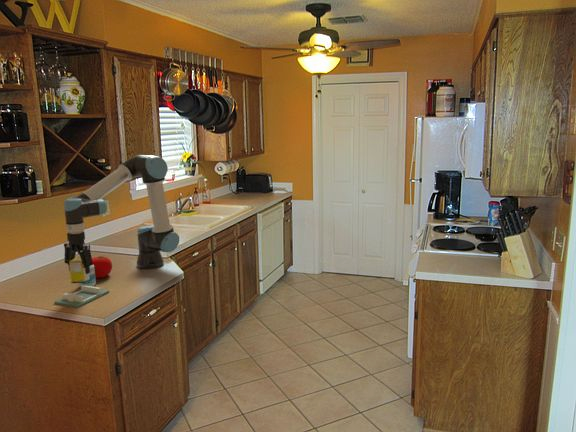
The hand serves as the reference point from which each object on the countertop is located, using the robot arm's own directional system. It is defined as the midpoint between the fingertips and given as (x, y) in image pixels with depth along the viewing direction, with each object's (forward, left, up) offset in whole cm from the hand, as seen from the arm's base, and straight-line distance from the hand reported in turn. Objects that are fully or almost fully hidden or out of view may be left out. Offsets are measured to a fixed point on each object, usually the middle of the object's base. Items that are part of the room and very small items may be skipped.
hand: (80, 278), depth 222 cm
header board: (0, 0, -10) cm, 10 cm away
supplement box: (0, 0, -1) cm, 1 cm away
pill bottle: (-14, -10, -10) cm, 20 cm away
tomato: (-27, -14, -10) cm, 32 cm away
